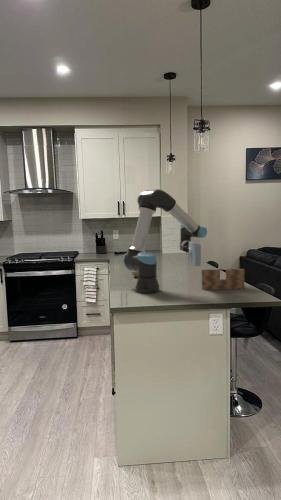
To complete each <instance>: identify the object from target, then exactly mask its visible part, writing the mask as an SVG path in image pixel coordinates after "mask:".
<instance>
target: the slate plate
mask: <svg viewBox="0 0 281 500" xmlns="http://www.w3.org/2000/svg"><path fill="white" fill-rule="evenodd" d="M189 247H190V248H191V253H189V252H188V261H190V262H191V263H192V264H193V265H194V266H195V267H201V264H202V263H201V256H202V255H201V253H202V252H201V249H202V248H201V244H200V243H197V242H196V241H193V240H191V241H189Z"/></svg>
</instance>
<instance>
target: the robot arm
mask: <svg viewBox="0 0 281 500" xmlns="http://www.w3.org/2000/svg"><path fill="white" fill-rule="evenodd" d="M136 201H137V205H138V210H139V214H138V217H137V224H136V227H135V229H134V234H133V240H132V243H131V246H130V247H128V249H127V252H126V253H124V254H123V257H122V264H123V266H124V268H126V269H127V270H130V271H131V272H132V271H136V272H138V277H137V281H136V284H135V286H134V288H135V290H134V292H137V293H139V294H155V293H159V292H160V289H161V288H160V285H159V281H158V276H157V271H158V270H157V264H158V263H157V262H158V261H157V255H156V254H155V253H153V252H150V251H149V252H148V251H146V250H145V248H146V244H147V240H148V235H149V232H150V228H151V223H152V218H153V215H155V213H156V212H157V209H158V208H159V209H161V210H162V211H164V212H165V213H169V214H170V215H171V216H172V218H174V219H175V220H176V221H178V222H179V223H180V227H179V228H180V229H179V230H180V233H179V234H180V235H179V236H180V240H179V241H180V242H179V250H180V251H182V252H186V253H188V254H189V253H191V248H190V247H189V241H192V238H199V239H203V238H205V237H206V236H207V234H208V229H207V228H206V227H204V226H200V224H198V223H197V222H196V220H194V219H193V218H192V217H191V216H190V215H189V214H188V213H187V212H186V211H185V210H184V209H182V208H181V206H180V205H179V204H178V203H177V200H176V199H175V198H174V197H173V196H171V195H170V194H169V193H167V192H166V191H165V190H162V189H157V188H156V189H150V190H149V189H147V190H144V191H141V192H140V193H139V194H138V196H137V200H136Z"/></svg>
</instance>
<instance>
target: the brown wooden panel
mask: <svg viewBox="0 0 281 500" xmlns="http://www.w3.org/2000/svg"><path fill="white" fill-rule="evenodd" d="M235 288H244V289H245V269H244V268H226V269H225V279H221V269H217V268H215V269H201V290H204V291H205V290H236V289H235Z"/></svg>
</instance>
